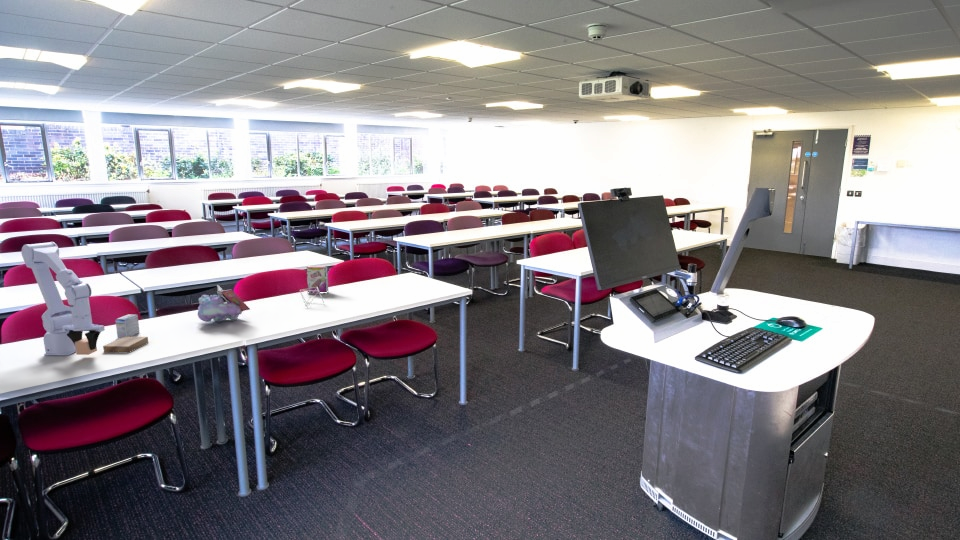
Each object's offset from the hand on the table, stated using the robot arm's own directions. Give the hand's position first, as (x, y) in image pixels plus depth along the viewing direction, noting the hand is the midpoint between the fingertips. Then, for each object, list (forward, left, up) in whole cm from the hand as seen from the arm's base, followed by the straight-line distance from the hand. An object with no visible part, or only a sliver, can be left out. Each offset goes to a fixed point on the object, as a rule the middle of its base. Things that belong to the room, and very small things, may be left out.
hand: (86, 349), depth 195 cm
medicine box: (-2, +27, -4) cm, 27 cm away
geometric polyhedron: (+62, +80, -4) cm, 101 cm away
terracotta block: (0, 0, -1) cm, 1 cm away
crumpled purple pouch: (+30, +47, -4) cm, 56 cm away
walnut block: (+7, +12, -4) cm, 14 cm away
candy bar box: (+57, +107, -4) cm, 121 cm away
